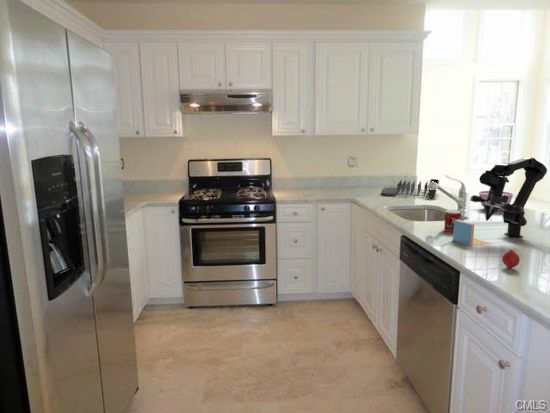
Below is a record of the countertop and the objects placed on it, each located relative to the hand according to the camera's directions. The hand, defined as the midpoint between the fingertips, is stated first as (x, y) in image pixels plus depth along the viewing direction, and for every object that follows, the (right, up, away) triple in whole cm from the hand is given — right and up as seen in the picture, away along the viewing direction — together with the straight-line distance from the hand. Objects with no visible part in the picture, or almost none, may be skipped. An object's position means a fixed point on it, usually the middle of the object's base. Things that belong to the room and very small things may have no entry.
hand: (486, 220), depth 188 cm
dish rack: (+11, +16, +139) cm, 140 cm away
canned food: (-7, -7, +21) cm, 23 cm away
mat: (-8, -11, 0) cm, 13 cm away
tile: (-12, -11, -2) cm, 16 cm away
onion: (-10, -18, -36) cm, 41 cm away
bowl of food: (+44, +4, +72) cm, 85 cm away
